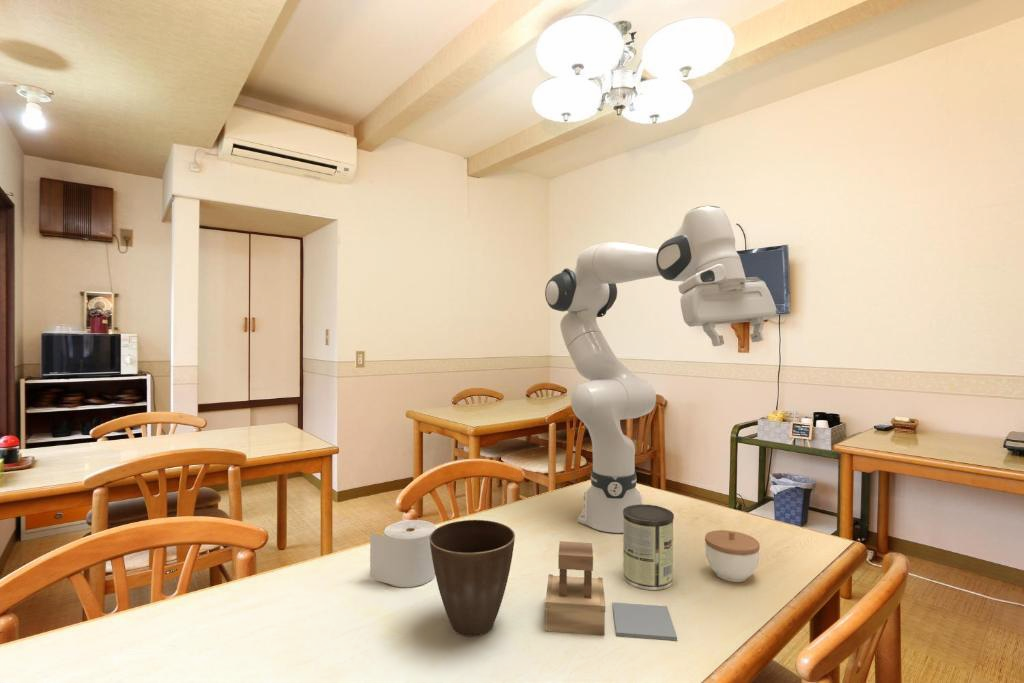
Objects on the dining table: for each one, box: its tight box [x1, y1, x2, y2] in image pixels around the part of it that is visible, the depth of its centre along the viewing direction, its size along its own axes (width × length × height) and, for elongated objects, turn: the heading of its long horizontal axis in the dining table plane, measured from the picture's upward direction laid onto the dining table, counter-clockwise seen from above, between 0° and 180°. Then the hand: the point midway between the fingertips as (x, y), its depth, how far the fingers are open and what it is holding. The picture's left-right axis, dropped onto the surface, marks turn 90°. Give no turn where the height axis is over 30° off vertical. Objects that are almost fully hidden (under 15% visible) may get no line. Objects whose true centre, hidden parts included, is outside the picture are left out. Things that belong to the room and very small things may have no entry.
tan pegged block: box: [557, 540, 594, 599], centre depth 95 cm, size 6×6×8 cm
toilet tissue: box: [369, 519, 437, 588], centre depth 110 cm, size 11×12×10 cm
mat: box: [611, 602, 678, 641], centre depth 94 cm, size 10×10×1 cm
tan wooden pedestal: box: [545, 573, 606, 636], centre depth 95 cm, size 10×10×5 cm
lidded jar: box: [704, 529, 760, 583], centre depth 112 cm, size 11×11×9 cm
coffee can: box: [622, 503, 675, 591], centre depth 110 cm, size 10×10×14 cm
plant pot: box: [429, 519, 516, 637], centre depth 92 cm, size 15×15×16 cm
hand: (738, 343), depth 105 cm, fingers open, 8 cm apart
